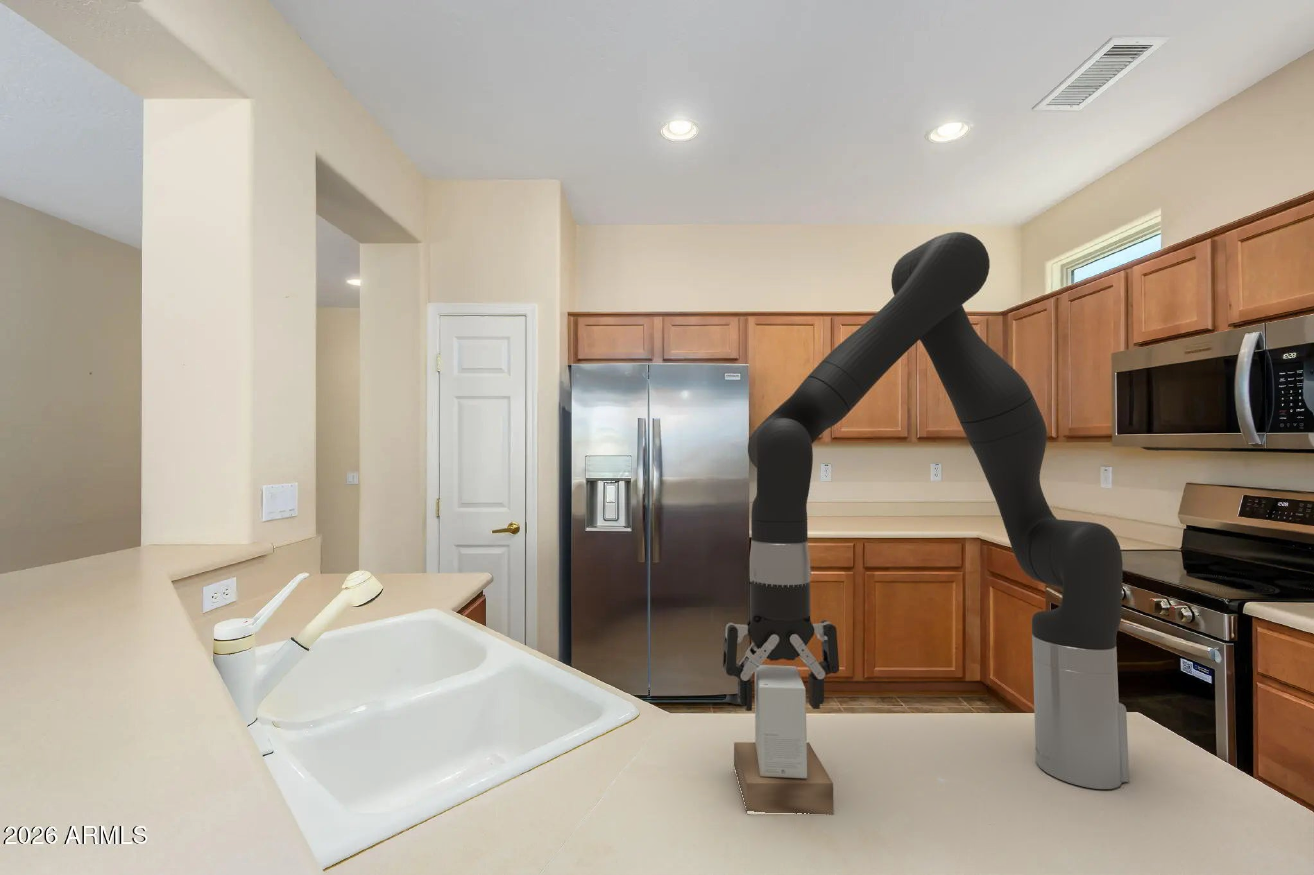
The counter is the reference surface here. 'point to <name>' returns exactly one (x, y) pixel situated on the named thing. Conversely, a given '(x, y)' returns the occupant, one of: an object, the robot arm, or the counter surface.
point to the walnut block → (782, 785)
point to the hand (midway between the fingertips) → (780, 707)
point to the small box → (780, 722)
